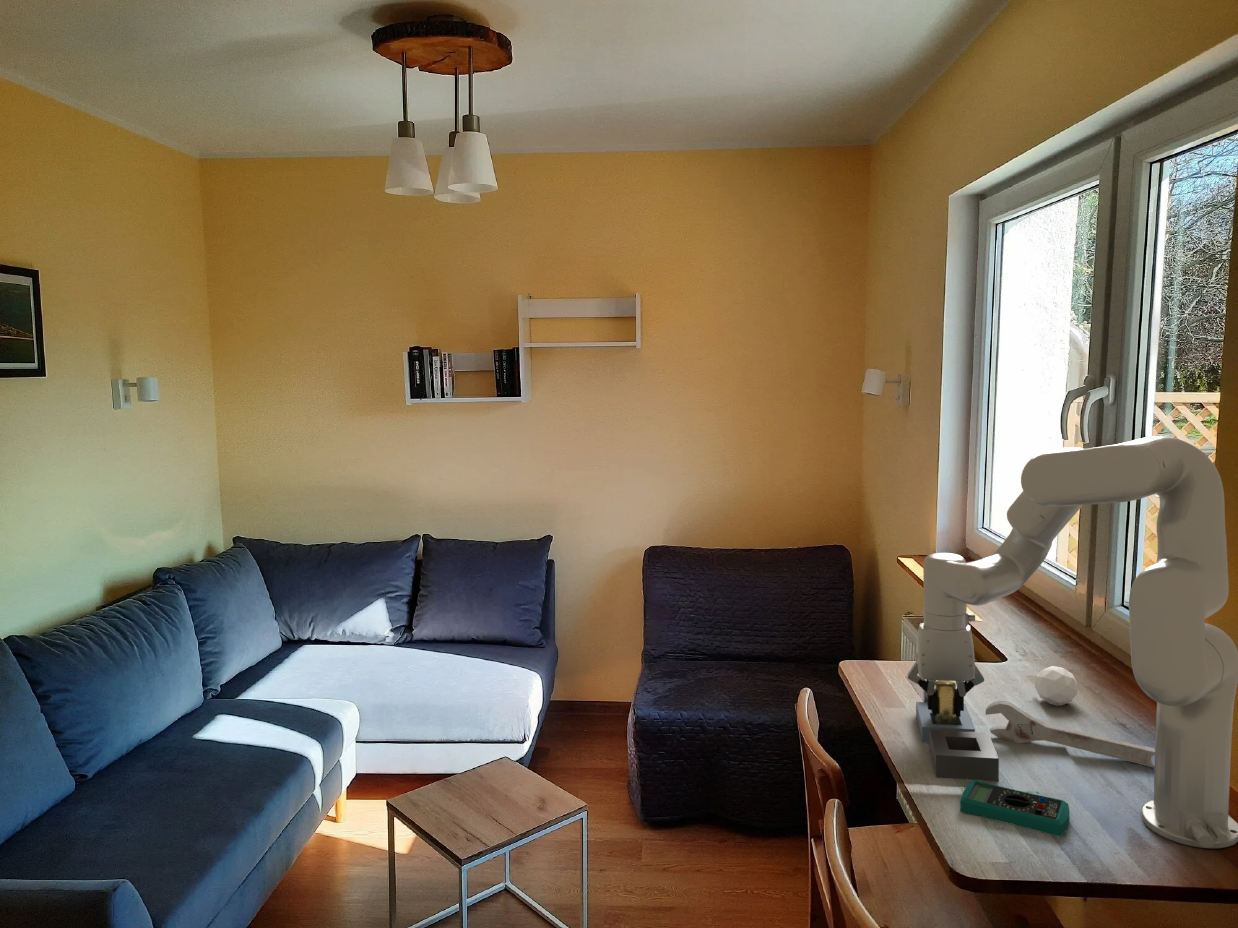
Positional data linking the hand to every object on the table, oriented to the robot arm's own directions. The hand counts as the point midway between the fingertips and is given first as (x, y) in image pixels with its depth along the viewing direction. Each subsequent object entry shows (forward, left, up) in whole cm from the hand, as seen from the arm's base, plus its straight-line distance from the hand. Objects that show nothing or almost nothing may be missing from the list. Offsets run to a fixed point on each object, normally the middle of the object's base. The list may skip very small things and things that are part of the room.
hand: (945, 712), depth 165 cm
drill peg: (0, 0, -4) cm, 4 cm away
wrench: (-3, -21, -6) cm, 22 cm away
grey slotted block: (-12, -1, -5) cm, 14 cm away
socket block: (+2, 0, -5) cm, 6 cm away
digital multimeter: (-26, -7, -6) cm, 27 cm away
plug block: (+7, 0, -5) cm, 8 cm away
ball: (+20, -24, -6) cm, 31 cm away
